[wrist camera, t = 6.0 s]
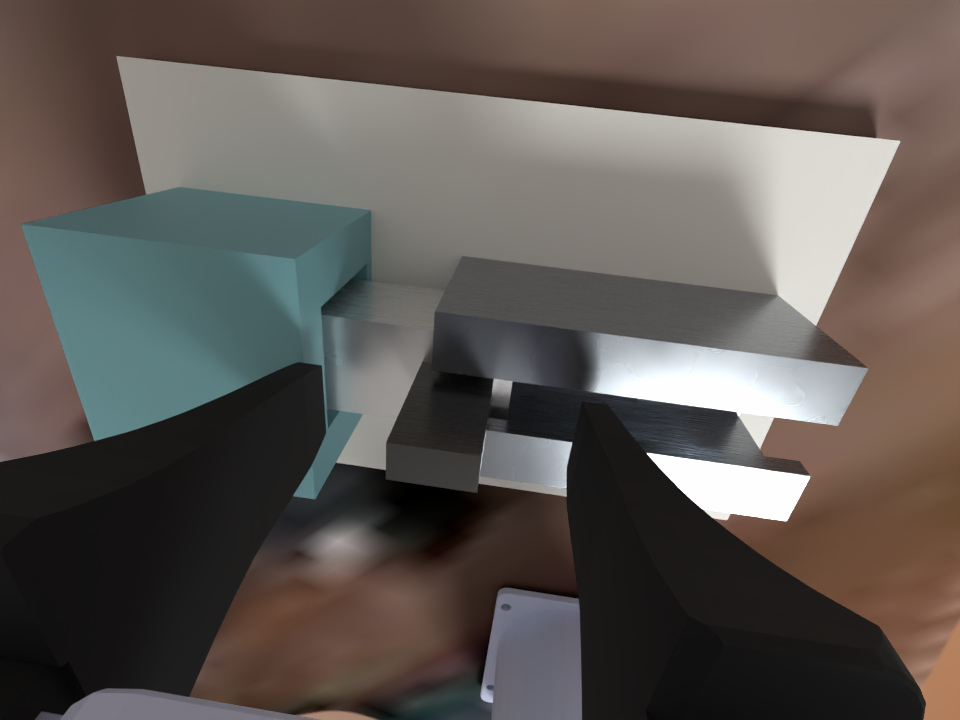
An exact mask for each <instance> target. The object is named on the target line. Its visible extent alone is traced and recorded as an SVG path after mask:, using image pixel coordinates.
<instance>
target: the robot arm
mask: <svg viewBox="0 0 960 720" xmlns="http://www.w3.org/2000/svg"><path fill="white" fill-rule="evenodd" d="M325 435H326V420H325V404H324V389H323V373H322V365H316V364H309V363H301V362H297V363H294V364H291V365H289V366H286V367H284V368H282V369H279V370H277V371H275V372H273V373H271V374H269V375H266V376H264V377H262V378H260V379H258V380H256V381H254V382H252V383H250V384H247V385H245V386H243V387H241V388H239V389H237V390H235V391H232V392H230V393H228V394H226V395H224V396H221V397H219V398H217V399H214V400H212V401H210V402H207V403H205V404H202V405H200V406H198V407H195V408H193V409H191V410H188V411H186V412H183V413H181V414H178V415H176V416H173V417H170V418H168V419H165V420H162V421H159V422H156V423H153V424H150V425H147V426H144V427H141V428H138V429H135V430H132V431H129V432H126V433H122V434H118V435H115V436H111V437H107V438H104V439H100V440H96V441H93V442H89V443H85V444H82V445H78V446H74V447H70V448H66V449H62V450H57V451H53V452H48V453H44V454H39V455H34V456H29V457H24V458H19V459H14V460H9V461H3V462H0V720H318V719H313V718H307V717H301V716H295V715H290V714H284V713H278V712H272V711H267V710H261V709H255V708H249V707H243V706H238V705H232V704H226V703H220V702H215V701H209V700H203V699H197V698H192V697H189V696H190V693H191V691H192V689H193V686H194V684H195V682H196V679H197V677H198V675H199V673H200V670H201V668H202V666H203V664H204V661H205V659H206V657H207V654H208V652H209V650H210V648H211V645H212V643H213V641H214V639H215V637H216V634H217V632H218V630H219V628H220V626H221V624H222V622H223V620H224V618H225V615H226V613H227V611H228V609H229V607H230V605H231V603H232V601H233V599H234V596H235V594H236V592H237V590H238V588H239V586H240V584H241V583H242V581H243V579H244V577H245V575H246V573H247V571H248V569H249V567H250V565H251V563H252V561H253V559H254V557H255V555H256V553H257V552H258V550H259V548H260V547H261V545H262V543H263V542H264V540H265V538H266V537H267V535H268V534H269V532H270V531H271V529H272V527H273V526H274V524H275V523H276V521H277V520H278V518H279V517H280V515H281V513H282V512H283V510H284V509H285V507H286V506H287V504H288V503H289V501H290V500H291V498H292V496H293V495H294V493H295V492H296V490H297V489H298V487H299V485H300V484H301V482H302V481H303V479H304V478H305V476H306V474H307V473H308V471H309V469H310V468H311V466H312V464H313V462H314V460H315V458H316V455H317V453H318V451H319V449H320V447H321V444H322V442H323V440H324V437H325ZM566 489H567V512H568V520H569V527H570V535H571V542H572V550H573V557H574V565H575V572H576V580H577V587H578V597H579V599H577V598H571V597H565V596H558V595H552V594H545V593H539V592H533V591H526V590H520V589H514V588H502V589H500V590H499V591H498V594H497V599H496V605H495V611H494V617H493V623H492V629H491V634H490V640H489V646H488V652H487V658H486V664H485V670H484V675H483V681H482V687H481V698H482V699H483V700H484V701H486V702H491V703H493V707H492V720H923V719H924V713H925V706H926V702H925V700H924V698H923V695H922V692H921V690H920V688H919V686H918V685H917V683H916V682H915V680H914V678H913V677H912V675H911V674H910V672H909V671H908V669H907V668H906V666H905V665H904V663H903V662H902V660H901V659H900V657H899V655H898V654H897V652H896V651H895V649H894V648H893V646H892V645H891V643H890V642H889V640H888V639H887V637H886V636H885V634H884V633H883V631H882V630H881V629H880V627H879V626H877V625H876V624H874V623H872V622H870V621H869V620H867V619H865V618H863V617H861V616H860V615H858V614H856V613H854V612H853V611H851V610H849V609H847V608H846V607H844V606H842V605H840V604H838V603H837V602H835V601H833V600H831V599H830V598H828V597H826V596H824V595H823V594H821V593H819V592H817V591H816V590H814V589H812V588H811V587H809V586H807V585H806V584H804V583H803V582H801V581H800V580H798V579H796V578H795V577H793V576H792V575H790V574H789V573H787V572H786V571H784V570H782V569H781V568H779V567H778V566H776V565H775V564H773V563H772V562H770V561H769V560H768V559H766V558H765V557H763V556H762V555H760V554H759V553H757V552H756V551H755V550H753V549H752V548H751V547H749V546H748V545H747V544H745V543H744V542H743V541H741V540H740V539H739V538H737V537H736V536H735V535H733V534H732V533H731V532H729V531H728V530H727V529H725V528H724V527H723V526H722V525H720V524H719V523H718V522H717V521H715V520H714V519H713V518H712V517H711V516H710V515H708V514H707V513H706V512H705V511H704V510H703V509H702V508H700V507H699V506H698V505H697V504H696V503H695V502H694V501H693V500H691V499H690V498H689V497H688V496H687V495H686V494H685V493H684V492H683V491H682V490H681V489H680V488H679V487H678V486H677V485H676V484H675V483H674V482H673V481H672V480H671V479H670V478H669V477H668V476H667V475H666V474H665V473H664V472H663V471H662V470H661V469H660V468H659V467H658V465H657V464H656V463H655V462H654V461H653V460H652V459H651V458H650V456H649V455H648V454H647V453H646V452H645V451H644V449H643V448H642V447H641V446H640V445H639V444H638V442H637V441H636V440H635V439H634V437H633V436H632V435H631V434H630V432H629V431H628V430H627V429H626V427H625V426H624V425H623V424H622V422H621V421H620V420H619V418H618V417H617V416H616V414H615V413H614V412H613V411H612V409H611V408H610V407H609V406H608V405H607V404H599V403H592V402H585V401H582V403H581V407H580V412H579V416H578V420H577V425H576V429H575V433H574V438H573V442H572V447H571V451H570V455H569V460H568V464H567V486H566Z"/></svg>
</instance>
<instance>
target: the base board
mask: <svg viewBox="0 0 960 720" xmlns="http://www.w3.org/2000/svg"><path fill="white" fill-rule="evenodd" d="M116 57H117V62H118V67H119V71H120V76H121V80H122V85H123V90H124V94H125V99H126V104H127V108H128V113H129V118H130V122H131V127H132V131H133V136H134V141H135V145H136V150H137V155H138V159H139V164H140V169H141V173H142V178H143V182H144V187H145V192H146V195H147V194H151V193H155V192H160V191H164V190H168V189H172V188H177V187H184V188H192V189H201V190H209V191H217V192H225V193H234V194H242V195H250V196H258V197H267V198H275V199H283V200H291V201H300V202H308V203H316V204H324V205H332V206H341V207H349V208H357V209H365V210H371V255H372V281H377V282H385V283H392V284H400V285H408V286H416V287H423V288H431V289H439V290H446V288H447V286H448V284H449V282H450V280H451V278H452V276H453V274H454V272H455V270H456V268H457V266H458V264H459V262H460V260H461V258H462V256H467V257H475V258H483V259H491V260H499V261H507V262H515V263H523V264H531V265H539V266H547V267H555V268H563V269H571V270H579V271H587V272H595V273H603V274H611V275H619V276H627V277H635V278H643V279H651V280H659V281H667V282H675V283H683V284H691V285H699V286H707V287H715V288H723V289H731V290H739V291H747V292H755V293H763V294H771V295H778V296H779V297H781V298H782V299H783V300H784V301H786V302H787V303H788V304H789V305H791V306H792V307H793V308H794V309H796V310H797V311H798V312H799V313H801V314H802V315H803V316H804V317H806V318H807V319H808V320H809V321H810V322H812V323H813V324H814V325H815V326H816V325H817V323H818V320H819V318H820V316H821V314H822V312H823V310H824V307H825V305H826V303H827V301H828V299H829V296H830V294H831V292H832V290H833V288H834V285H835V283H836V281H837V279H838V277H839V275H840V272H841V270H842V268H843V266H844V264H845V261H846V259H847V257H848V255H849V253H850V250H851V248H852V246H853V244H854V242H855V240H856V237H857V235H858V233H859V231H860V229H861V226H862V224H863V222H864V220H865V218H866V215H867V213H868V211H869V209H870V207H871V205H872V202H873V200H874V198H875V196H876V194H877V191H878V189H879V187H880V185H881V183H882V180H883V178H884V176H885V174H886V172H887V170H888V167H889V165H890V163H891V161H892V159H893V156H894V154H895V152H896V150H897V148H898V145H899V143H900V141H895V140H886V139H876V138H867V137H858V136H849V135H840V134H830V133H821V132H812V131H803V130H794V129H784V128H775V127H766V126H757V125H748V124H738V123H729V122H720V121H711V120H702V119H692V118H683V117H674V116H665V115H655V114H646V113H637V112H628V111H619V110H609V109H600V108H591V107H582V106H573V105H563V104H554V103H545V102H536V101H527V100H517V99H508V98H499V97H490V96H481V95H471V94H462V93H453V92H444V91H434V90H425V89H416V88H407V87H398V86H388V85H379V84H370V83H361V82H352V81H342V80H333V79H324V78H315V77H306V76H296V75H287V74H278V73H269V72H260V71H250V70H241V69H232V68H223V67H213V66H204V65H195V64H186V63H177V62H167V61H158V60H149V59H140V58H131V57H121V56H116ZM739 417H740V419H741V421H742V422H743V424H744V425H745V427H746V428H747V430H748V432H749V433H750V435H751V436H752V438H753V439H754V441H755V443H756V444H757V446H758V447H759V449H760V447H761V445H762V443H763V441H764V439H765V436H766V434H767V432H768V430H769V428H770V426H771V423H772V421H773V419H774V417H770V416H763V415H756V414H748V413H740V415H739ZM395 421H396V419H394V418H387V417H380V416H373V415H366V414H363V415H362V417H361V419H360V421H359V422H358V424H357V426H356V428H355V429H354V431H353V433H352V435H351V436H350V438H349V440H348V442H347V444H346V445H345V447H344V449H343V451H342V452H341V454H340V456H339V458H338V460H337V461H336V463H342V464H349V465H356V466H363V467H370V468H376V469H383V470H386V441H387V439H388V437H389V435H390V433H391V430H392V428H393V426H394V424H395ZM479 484H485V485H492V486H499V487H505V488H512V489H519V490H526V491H533V492H539V493H546V494H553V495H560V496H567V489H563V488H556V487H549V486H543V485H536V484H529V483H522V482H515V481H508V480H502V479H495V478H488V477H481V476H480V477H479ZM703 510H704V511H705V512H706V513H707V514H708V515H710V516H711V517H712V518H716V519H723V520H728V517H729V515H730V513H727V512H720V511H713V510H707V509H703Z"/></svg>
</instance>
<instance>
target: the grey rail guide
mask: <svg viewBox="0 0 960 720" xmlns="http://www.w3.org/2000/svg"><path fill="white" fill-rule="evenodd" d="M431 370H433V371H441V372H448V373H455V374H463V375H470V376H477V377H485V378H492V379H499V380H507V381H513V382H512V389H511V396H510V402H509V409H508V416H507V420H502V419H495V418H489V420H488V427H487V433H486V439H485V446H484V452H483V458H482V465H481V471H480V476H481V477H488V478H495V479H502V480H508V481H515V482H522V483H529V484H536V485H543V486H549V487H556V488H563V489H566V486H567V464H568V460H569V455H570V451H571V447H572V442H573V438H574V433H575V429H576V425H577V420H578V416H579V412H580V407H581V403H582V401H585V402H592V403H599V404H607V405H608V406H609V407H610V408H611V409H612V411H613V412H614V413H615V414H616V416H617V417H618V418H619V420H620V421H621V422H622V424H623V425H624V426H625V427H626V429H627V430H628V431H629V432H630V434H631V435H632V436H633V437H634V439H635V440H636V441H637V442H638V444H639V445H640V446H641V447H642V448H643V449H644V451H645V452H646V453H647V454H648V455H649V456H650V458H651V459H652V460H653V461H654V462H655V463H656V464H657V465H658V467H659V468H660V469H661V470H662V471H663V472H664V473H665V474H666V475H667V476H668V477H669V478H670V479H671V480H672V481H673V482H674V483H675V484H676V485H677V486H678V487H679V488H680V489H681V490H682V491H683V492H684V493H685V494H686V495H687V496H688V497H689V498H690V499H691V500H693V501H694V502H695V503H696V504H697V505H698V506H699V507H700V508H702V509H707V510H713V511H720V512H727V513H734V514H741V515H748V516H754V517H761V518H768V519H775V520H782V521H787V519H788V518H789V516H790V514H791V512H792V510H793V508H794V506H795V504H796V503H797V501H798V499H799V497H800V495H801V493H802V491H803V490H804V488H805V486H806V484H807V482H808V480H809V478H810V475H809V473H808V472H807V471H806V469H805V468H804V466H803V465H802V464H801V462H800V461H794V460H787V459H780V458H772V457H765V456H764V455H763V454H762V452H761V450H760V449H759V447H758V446H757V444H756V443H755V441H754V439H753V438H752V436H751V435H750V433H749V432H748V430H747V428H746V427H745V425H744V424H743V422H742V421H741V419H740V417H739V415H740V413H748V414H756V415H763V416H770V417H778V418H785V419H792V420H800V421H807V422H814V423H822V424H829V425H836V426H838V424H839V422H840V421H841V419H842V417H843V415H844V413H845V411H846V409H847V407H848V406H849V404H850V402H851V400H852V398H853V396H854V394H855V393H856V391H857V389H858V387H859V385H860V383H861V381H862V379H863V378H864V376H865V374H866V372H867V370H868V368H867V367H866V366H865V365H864V364H862V363H861V362H860V361H859V360H858V359H856V358H855V357H854V356H853V355H851V354H850V353H849V352H848V351H846V350H845V349H844V348H843V347H841V346H840V345H839V344H838V343H836V342H835V341H834V340H833V339H832V338H830V337H829V336H828V335H827V334H825V333H824V332H823V331H822V330H820V329H819V328H818V327H817V326H815V325H814V324H813V323H812V322H810V321H809V320H808V319H807V318H806V317H804V316H803V315H802V314H801V313H799V312H798V311H797V310H796V309H794V308H793V307H792V306H791V305H789V304H788V303H787V302H786V301H784V300H783V299H782V298H781V297H779V296H778V295H771V294H763V293H755V292H747V291H739V290H731V289H723V288H715V287H707V286H699V285H691V284H683V283H675V282H667V281H659V280H651V279H643V278H635V277H627V276H619V275H611V274H603V273H595V272H587V271H579V270H571V269H563V268H555V267H547V266H539V265H531V264H523V263H515V262H507V261H499V260H491V259H483V258H475V257H467V256H462V258H461V260H460V262H459V264H458V266H457V268H456V270H455V272H454V274H453V276H452V278H451V280H450V282H449V284H448V286H447V288H446V290H445V292H444V294H443V296H442V298H441V300H440V302H439V304H438V306H437V308H436V310H435V315H434V333H433V351H432V369H431Z"/></svg>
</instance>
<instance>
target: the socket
mask: <svg viewBox="0 0 960 720" xmlns="http://www.w3.org/2000/svg"><path fill="white" fill-rule="evenodd" d="M21 226H22V229H23V232H24V235H25V238H26V241H27V244H28V247H29V250H30V253H31V256H32V259H33V262H34V265H35V268H36V270H37V273H38V276H39V279H40V282H41V285H42V288H43V291H44V294H45V297H46V300H47V303H48V306H49V309H50V312H51V315H52V317H53V320H54V323H55V326H56V329H57V332H58V335H59V338H60V341H61V344H62V347H63V350H64V353H65V356H66V359H67V362H68V364H69V367H70V370H71V373H72V376H73V379H74V382H75V385H76V388H77V391H78V394H79V397H80V400H81V403H82V406H83V409H84V411H85V414H86V417H87V420H88V423H89V426H90V429H91V432H92V435H93V438H94V441H96V440H100V439H104V438H107V437H111V436H115V435H118V434H122V433H126V432H129V431H132V430H135V429H138V428H141V427H144V426H147V425H150V424H153V423H156V422H159V421H162V420H165V419H168V418H170V417H173V416H176V415H178V414H181V413H183V412H186V411H188V410H191V409H193V408H195V407H198V406H200V405H202V404H205V403H207V402H210V401H212V400H214V399H217V398H219V397H221V396H224V395H226V394H228V393H230V392H232V391H235V390H237V389H239V388H241V387H243V386H245V385H247V384H250V383H252V382H254V381H256V380H258V379H260V378H262V377H264V376H266V375H269V374H271V373H273V372H275V371H277V370H279V369H282V368H284V367H286V366H289V365H291V364H294V363H297V362H301V363H309V364H316V365H322V373H323V389H324V404H325V420H326V435H325V437H324V440H323V442H322V444H321V447H320V449H319V451H318V453H317V455H316V458H315V460H314V462H313V464H312V466H311V468H310V469H309V471H308V473H307V474H306V476H305V478H304V479H303V481H302V482H301V484H300V485H299V487H298V489H297V490H296V492H295V493H294V495H293V496H296V497H303V498H310V499H316V497H317V495H318V493H319V491H320V490H321V488H322V486H323V484H324V483H325V481H326V479H327V477H328V476H329V474H330V472H331V470H332V468H333V467H334V465H335V463H336V461H337V460H338V458H339V456H340V454H341V452H342V451H343V449H344V447H345V445H346V444H347V442H348V440H349V438H350V436H351V435H352V433H353V431H354V429H355V428H356V426H357V424H358V422H359V421H360V419H361V417H362V415H363V414H359V413H352V412H345V411H338V410H330V409H327V400H326V384H325V368H324V351H323V335H322V318H321V307H322V306H323V305H324V304H325V303H326V302H327V301H328V300H329V299H330V298H331V297H332V296H333V295H334V294H335V293H337V292H338V291H339V290H340V289H341V288H342V287H343V286H344V285H345V284H346V283H347V282H348V281H349V280H350V279H351V278H353V279H361V280H369V281H372V255H371V210H365V209H357V208H349V207H341V206H332V205H324V204H316V203H308V202H300V201H291V200H283V199H275V198H267V197H258V196H250V195H242V194H234V193H225V192H217V191H209V190H201V189H192V188H184V187H177V188H172V189H168V190H164V191H160V192H155V193H151V194H147V195H143V196H138V197H134V198H130V199H126V200H121V201H117V202H113V203H109V204H105V205H100V206H96V207H92V208H88V209H83V210H79V211H75V212H71V213H66V214H62V215H58V216H54V217H49V218H45V219H41V220H37V221H32V222H28V223H24V224H21Z"/></svg>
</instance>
